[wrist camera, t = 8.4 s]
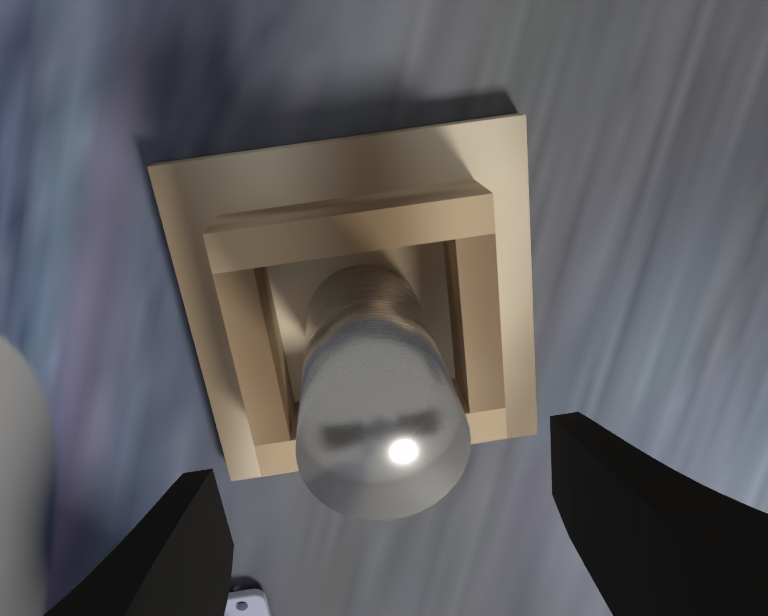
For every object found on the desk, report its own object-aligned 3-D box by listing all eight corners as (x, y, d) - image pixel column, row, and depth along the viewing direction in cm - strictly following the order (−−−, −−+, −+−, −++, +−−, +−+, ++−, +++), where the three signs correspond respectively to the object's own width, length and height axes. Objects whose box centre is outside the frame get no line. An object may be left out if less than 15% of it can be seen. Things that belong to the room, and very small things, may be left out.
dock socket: (234, 468, 24) (220, 526, 21) (154, 163, 19) (121, 179, 16) (531, 422, 24) (560, 473, 21) (518, 113, 20) (553, 120, 17)
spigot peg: (324, 381, 22) (322, 537, 14) (292, 280, 20) (272, 396, 13) (431, 354, 22) (484, 497, 14) (406, 251, 20) (452, 350, 13)
